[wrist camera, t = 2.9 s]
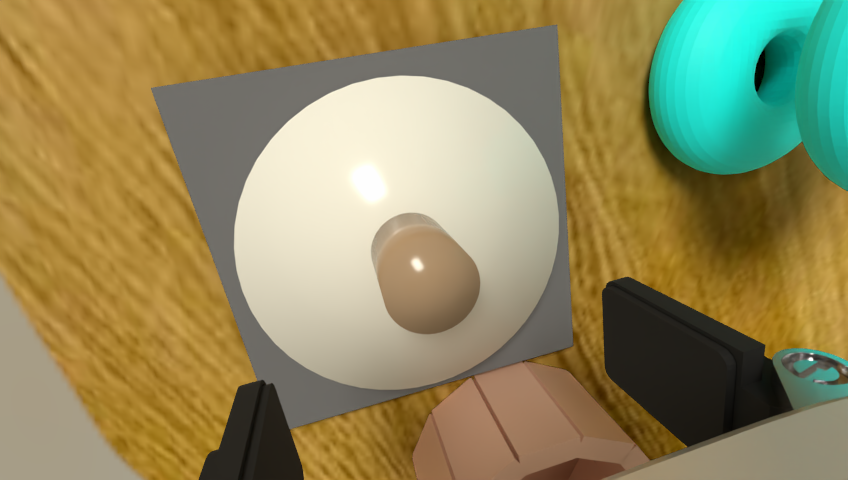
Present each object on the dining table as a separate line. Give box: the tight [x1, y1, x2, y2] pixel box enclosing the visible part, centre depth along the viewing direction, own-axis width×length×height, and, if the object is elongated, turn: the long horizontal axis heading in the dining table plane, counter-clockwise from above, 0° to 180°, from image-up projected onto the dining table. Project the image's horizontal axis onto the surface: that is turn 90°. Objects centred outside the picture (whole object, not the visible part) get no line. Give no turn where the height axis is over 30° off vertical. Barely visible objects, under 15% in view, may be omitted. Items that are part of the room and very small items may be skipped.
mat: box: [151, 25, 573, 429], centre depth 20 cm, size 17×17×1 cm
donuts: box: [649, 0, 848, 191], centre depth 17 cm, size 10×10×10 cm
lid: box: [234, 76, 559, 390], centre depth 17 cm, size 15×15×5 cm
